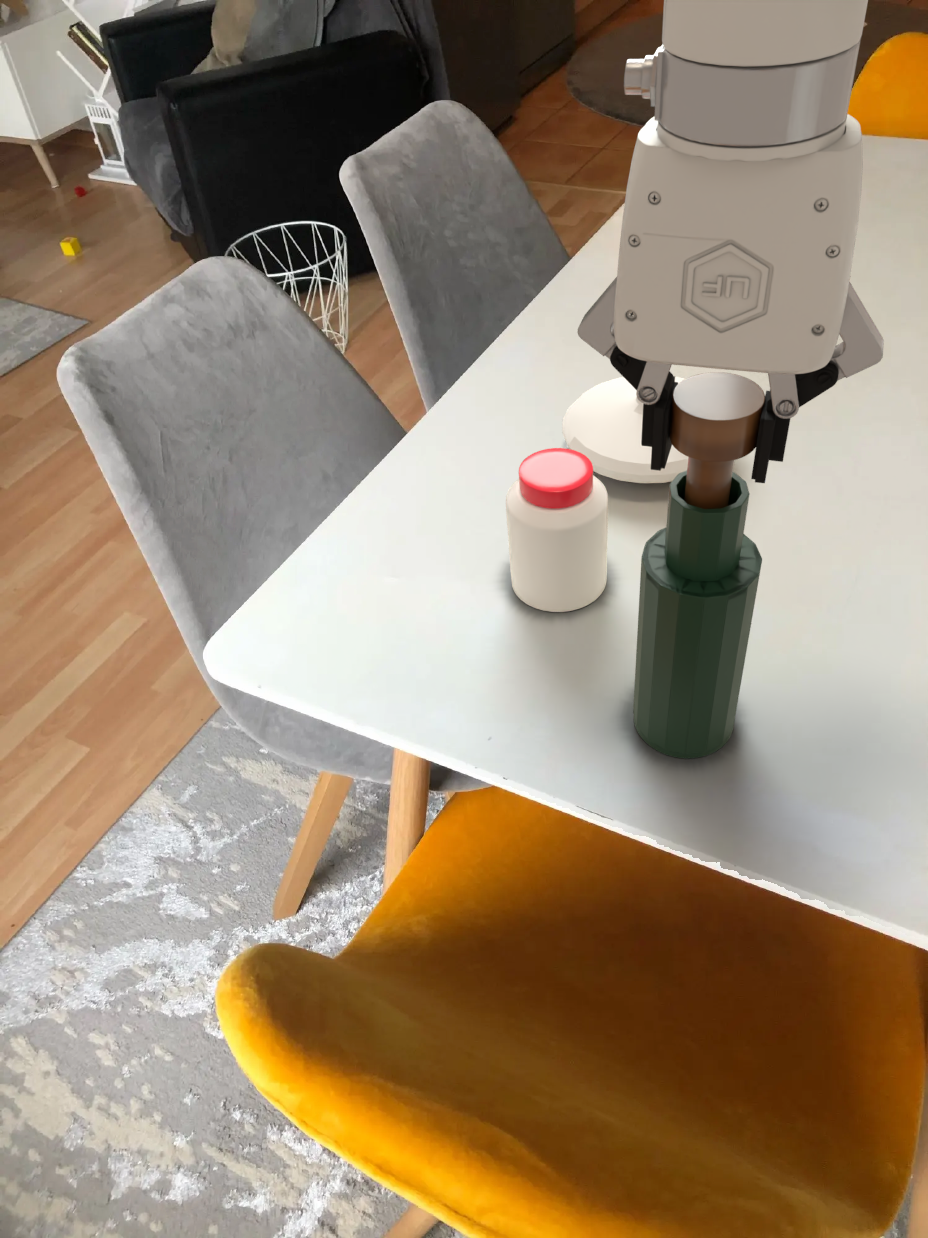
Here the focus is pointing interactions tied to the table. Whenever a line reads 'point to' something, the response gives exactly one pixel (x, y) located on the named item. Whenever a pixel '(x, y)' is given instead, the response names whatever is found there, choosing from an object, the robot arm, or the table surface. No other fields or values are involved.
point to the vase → (616, 434)
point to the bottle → (694, 623)
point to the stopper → (714, 431)
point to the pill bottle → (557, 531)
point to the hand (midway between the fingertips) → (711, 458)
